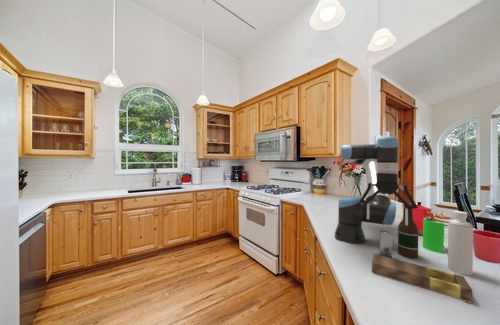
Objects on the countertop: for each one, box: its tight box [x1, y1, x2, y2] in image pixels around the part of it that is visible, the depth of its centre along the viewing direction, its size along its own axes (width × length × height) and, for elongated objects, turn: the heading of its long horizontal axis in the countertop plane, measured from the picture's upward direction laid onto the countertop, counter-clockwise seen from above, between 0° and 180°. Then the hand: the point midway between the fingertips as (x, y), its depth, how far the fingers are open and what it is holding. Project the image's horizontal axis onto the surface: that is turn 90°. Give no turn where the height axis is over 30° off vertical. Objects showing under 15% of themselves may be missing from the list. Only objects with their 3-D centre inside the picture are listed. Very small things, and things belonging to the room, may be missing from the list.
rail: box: [371, 253, 473, 303], centre depth 70 cm, size 26×9×4 cm, turn 53°
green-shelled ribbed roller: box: [422, 211, 446, 254], centre depth 97 cm, size 9×8×18 cm
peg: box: [379, 229, 393, 258], centre depth 84 cm, size 4×4×12 cm
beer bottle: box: [397, 202, 419, 260], centre depth 89 cm, size 8×8×24 cm
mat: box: [373, 252, 400, 260], centre depth 84 cm, size 9×9×1 cm
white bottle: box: [447, 210, 474, 276], centre depth 77 cm, size 7×7×25 cm
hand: (386, 221), depth 84 cm, fingers open, 13 cm apart
